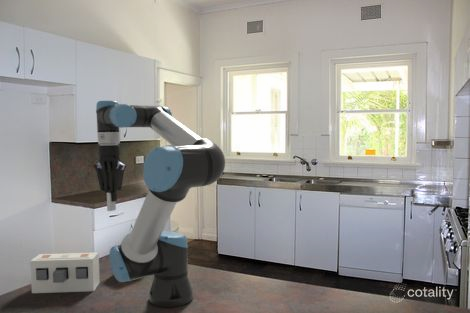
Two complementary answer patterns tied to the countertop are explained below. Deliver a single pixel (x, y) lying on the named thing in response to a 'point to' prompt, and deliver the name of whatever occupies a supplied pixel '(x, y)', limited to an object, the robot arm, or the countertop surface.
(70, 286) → the control box
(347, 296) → the countertop surface
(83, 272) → the right button
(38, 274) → the left button
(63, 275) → the middle button
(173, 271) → the robot arm
